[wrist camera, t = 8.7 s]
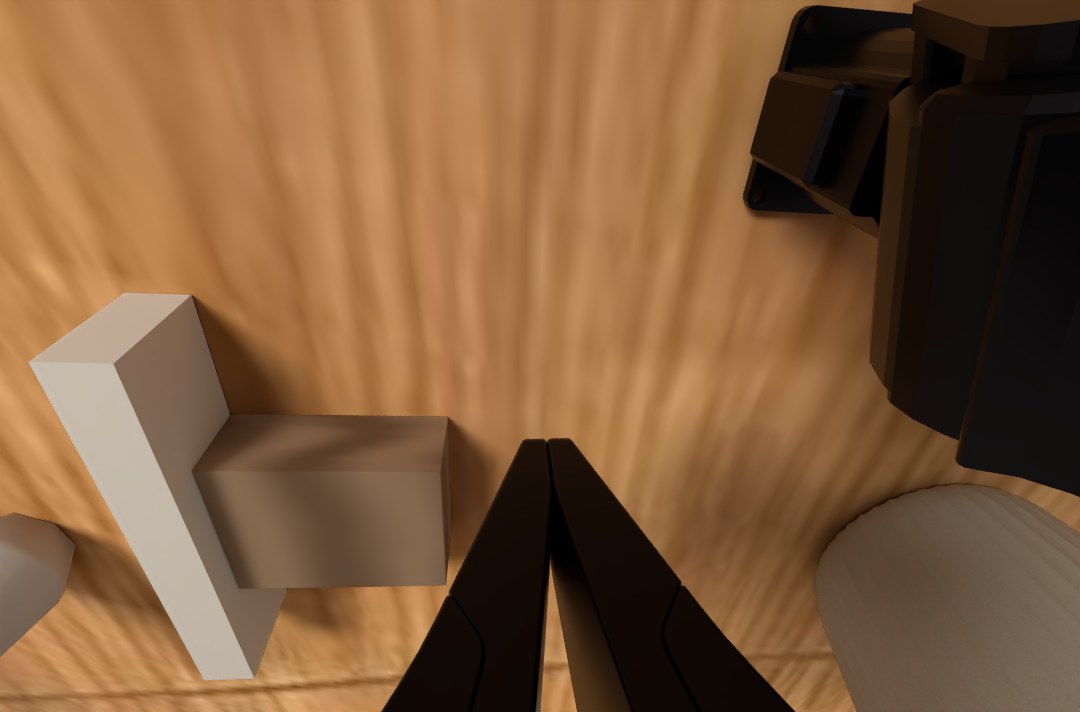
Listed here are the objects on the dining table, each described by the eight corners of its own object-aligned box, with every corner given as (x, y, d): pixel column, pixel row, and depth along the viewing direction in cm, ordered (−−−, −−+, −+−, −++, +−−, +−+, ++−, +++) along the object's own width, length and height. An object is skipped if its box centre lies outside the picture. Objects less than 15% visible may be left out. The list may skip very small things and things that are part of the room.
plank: (191, 294, 21) (113, 363, 17) (287, 591, 31) (254, 678, 27) (124, 292, 20) (28, 362, 16) (244, 591, 31) (204, 680, 27)
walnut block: (448, 412, 25) (440, 472, 22) (452, 521, 30) (445, 585, 26) (234, 409, 24) (191, 471, 21) (270, 522, 29) (239, 588, 25)
